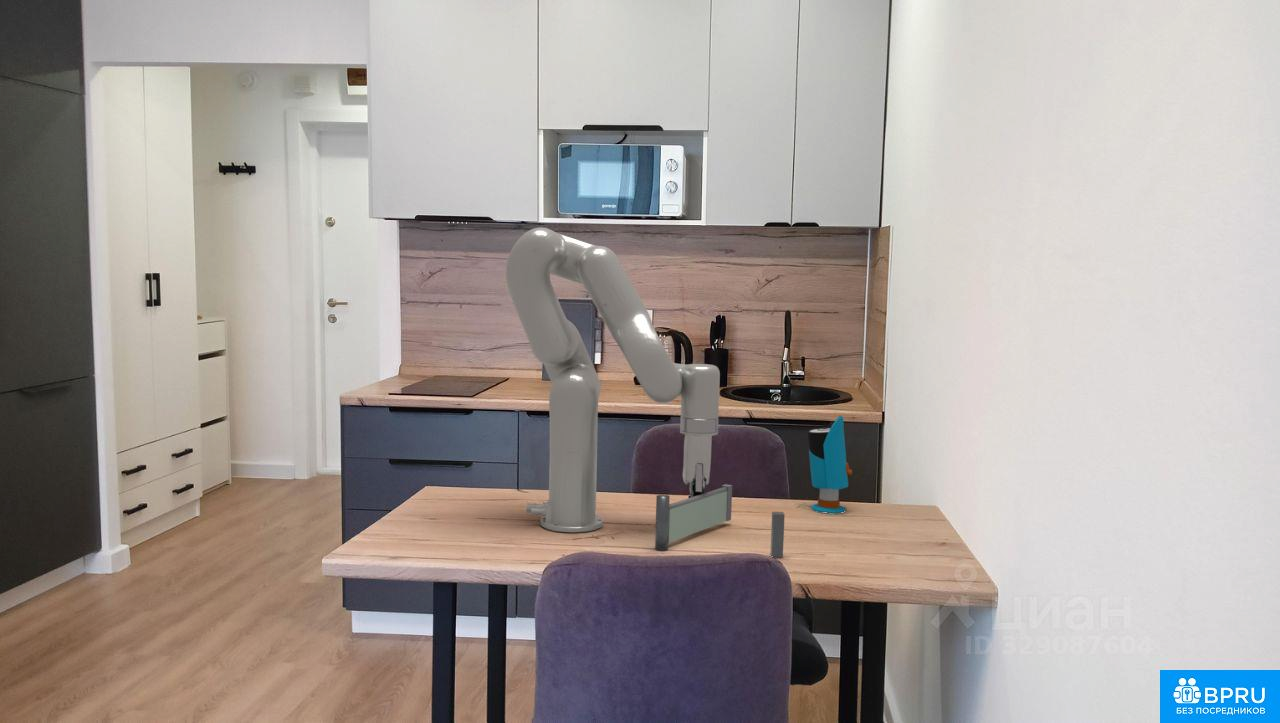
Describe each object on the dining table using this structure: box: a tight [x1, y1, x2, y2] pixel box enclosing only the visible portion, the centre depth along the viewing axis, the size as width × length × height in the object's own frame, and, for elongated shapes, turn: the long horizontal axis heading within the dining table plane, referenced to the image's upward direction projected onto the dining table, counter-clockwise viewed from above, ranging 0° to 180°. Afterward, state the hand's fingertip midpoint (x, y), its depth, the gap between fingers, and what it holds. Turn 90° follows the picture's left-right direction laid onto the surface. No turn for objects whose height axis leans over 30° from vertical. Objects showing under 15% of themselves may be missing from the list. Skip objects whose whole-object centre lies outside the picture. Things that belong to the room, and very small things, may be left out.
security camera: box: [807, 415, 853, 513], centre depth 205 cm, size 8×21×10 cm
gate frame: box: [654, 494, 785, 559], centre depth 170 cm, size 23×2×10 cm, turn 83°
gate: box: [668, 483, 733, 544], centre depth 181 cm, size 23×2×7 cm, turn 144°
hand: (696, 516), depth 186 cm, fingers closed
